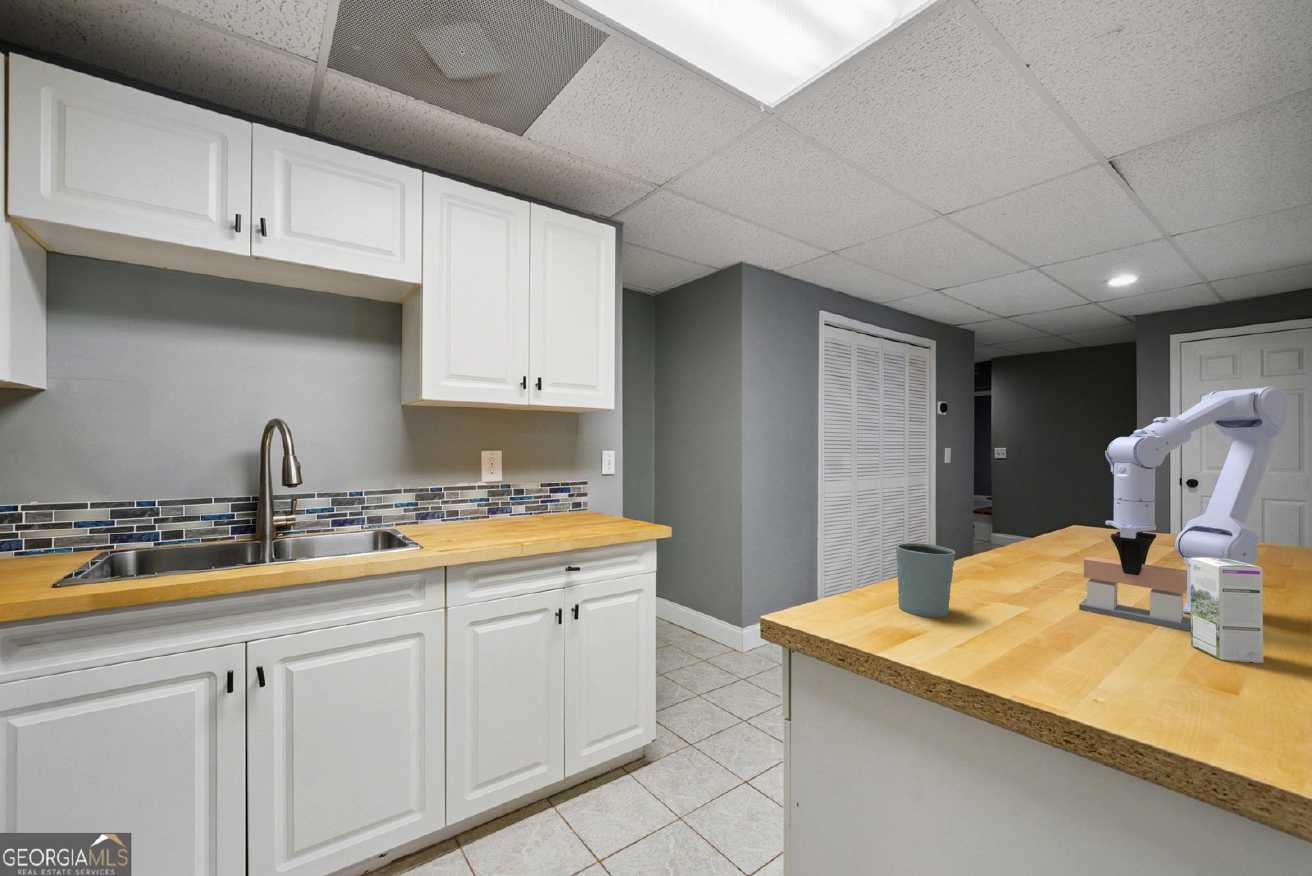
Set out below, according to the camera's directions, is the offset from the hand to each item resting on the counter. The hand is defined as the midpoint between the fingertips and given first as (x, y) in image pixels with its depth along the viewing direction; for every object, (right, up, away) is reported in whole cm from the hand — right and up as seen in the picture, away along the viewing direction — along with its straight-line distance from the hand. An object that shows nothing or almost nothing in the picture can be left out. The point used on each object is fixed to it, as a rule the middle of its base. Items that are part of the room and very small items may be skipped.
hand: (1133, 572), depth 98 cm
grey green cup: (-38, -8, +3) cm, 39 cm away
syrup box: (-2, -8, -18) cm, 20 cm away
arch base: (0, -8, 0) cm, 8 cm away
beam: (0, -2, 0) cm, 2 cm away
